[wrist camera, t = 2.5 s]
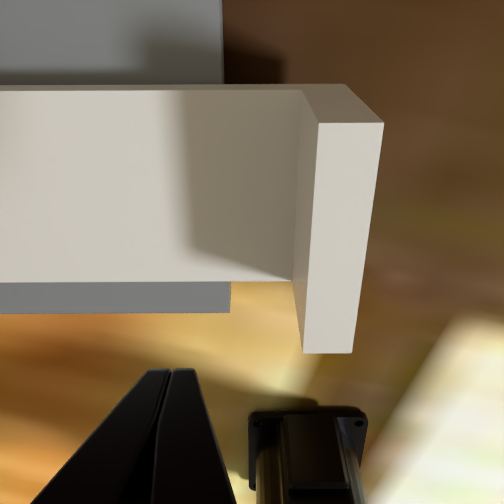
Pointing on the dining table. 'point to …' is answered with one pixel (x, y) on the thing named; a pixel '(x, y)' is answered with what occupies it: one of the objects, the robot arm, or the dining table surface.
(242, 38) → the dining table surface
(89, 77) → the grey piece
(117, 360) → the dining table surface
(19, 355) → the dining table surface
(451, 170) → the dining table surface
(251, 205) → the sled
